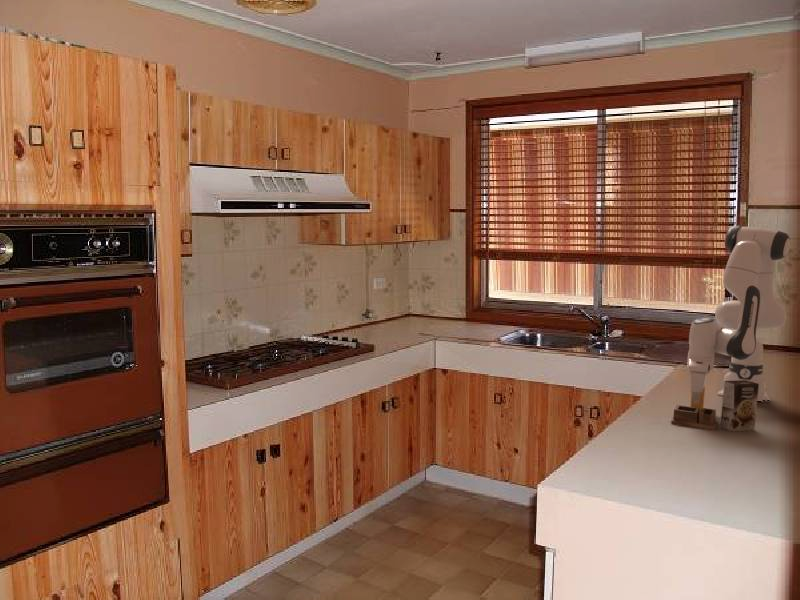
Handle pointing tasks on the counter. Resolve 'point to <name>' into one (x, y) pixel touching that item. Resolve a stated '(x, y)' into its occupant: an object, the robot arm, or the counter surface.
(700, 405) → the square peg
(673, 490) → the counter surface
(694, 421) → the socket holder
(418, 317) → the counter surface
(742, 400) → the coffee box
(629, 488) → the counter surface
